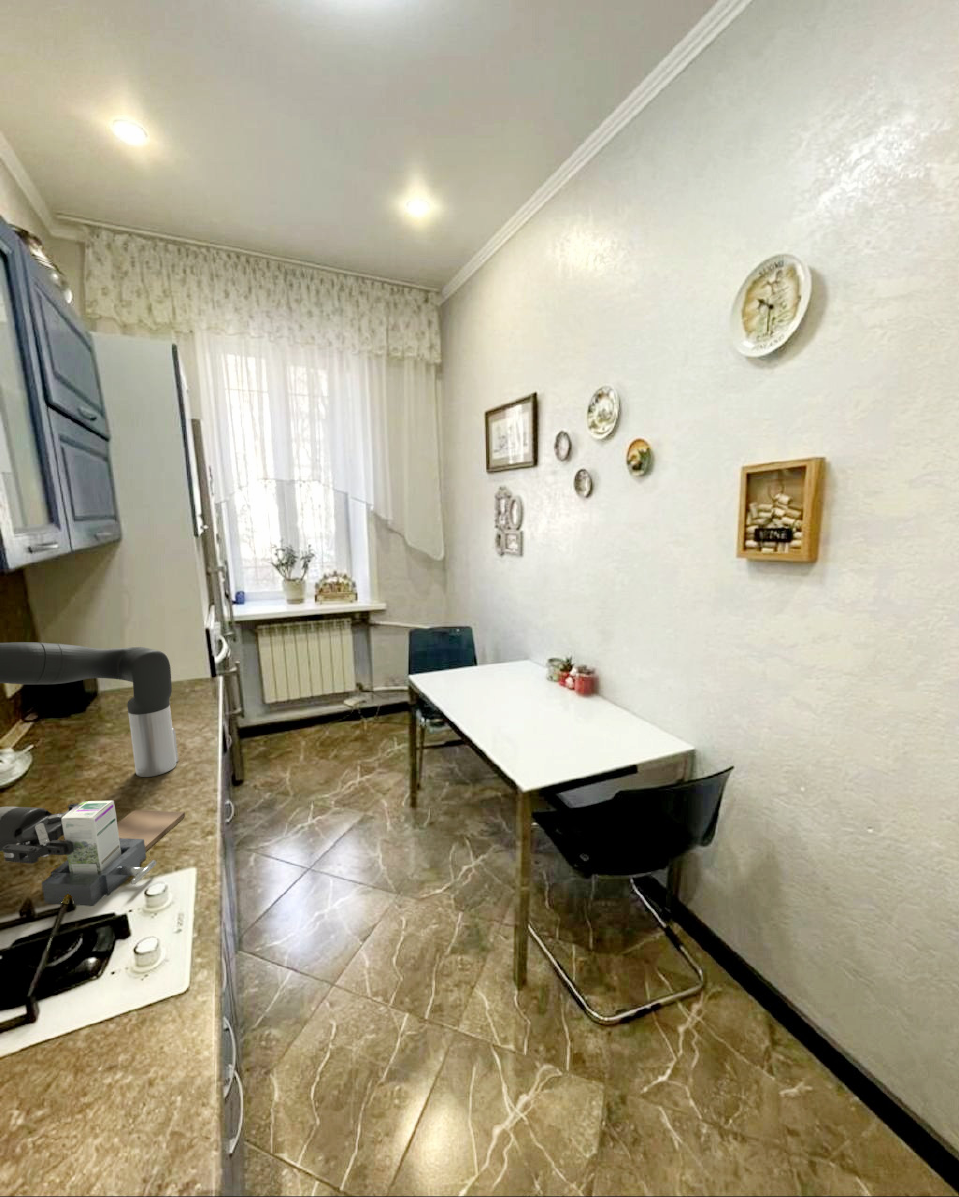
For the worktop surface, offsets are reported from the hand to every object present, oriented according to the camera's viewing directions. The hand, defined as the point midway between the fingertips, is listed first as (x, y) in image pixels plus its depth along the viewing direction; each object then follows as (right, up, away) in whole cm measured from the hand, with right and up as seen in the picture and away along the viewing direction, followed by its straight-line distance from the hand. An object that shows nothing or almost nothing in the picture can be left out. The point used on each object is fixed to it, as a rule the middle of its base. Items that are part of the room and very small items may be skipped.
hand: (92, 832), depth 91 cm
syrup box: (0, -10, +2) cm, 10 cm away
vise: (+2, -9, +1) cm, 10 cm away
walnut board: (-2, -7, +16) cm, 17 cm away
